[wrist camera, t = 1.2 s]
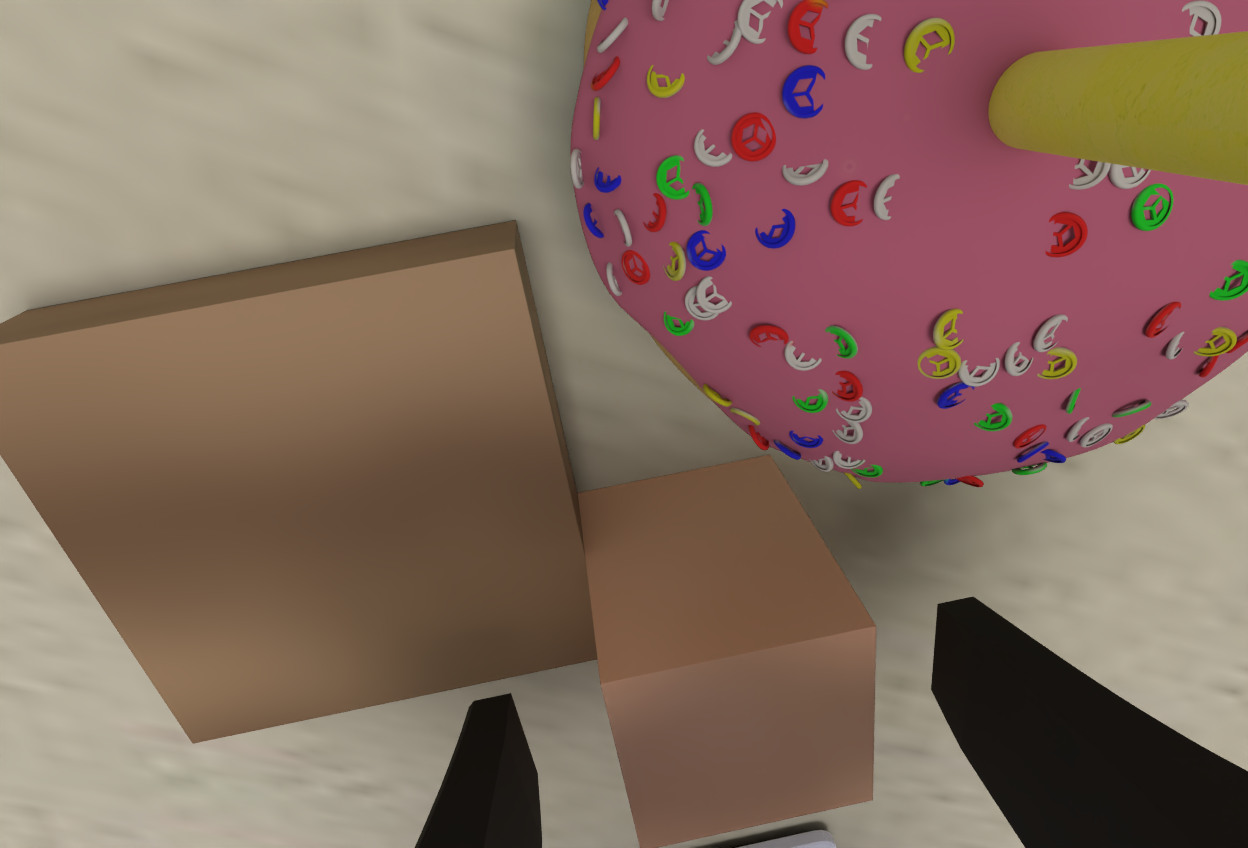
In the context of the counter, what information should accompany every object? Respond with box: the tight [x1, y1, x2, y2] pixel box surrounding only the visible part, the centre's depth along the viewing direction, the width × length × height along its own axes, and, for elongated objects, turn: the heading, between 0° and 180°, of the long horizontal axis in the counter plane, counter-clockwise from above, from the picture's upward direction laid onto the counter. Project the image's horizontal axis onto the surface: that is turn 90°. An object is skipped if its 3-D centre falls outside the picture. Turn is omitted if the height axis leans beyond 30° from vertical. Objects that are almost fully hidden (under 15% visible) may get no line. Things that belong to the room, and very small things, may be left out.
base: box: [0, 220, 598, 743], centre depth 13 cm, size 8×8×2 cm
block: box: [578, 455, 876, 848], centre depth 13 cm, size 4×4×5 cm
